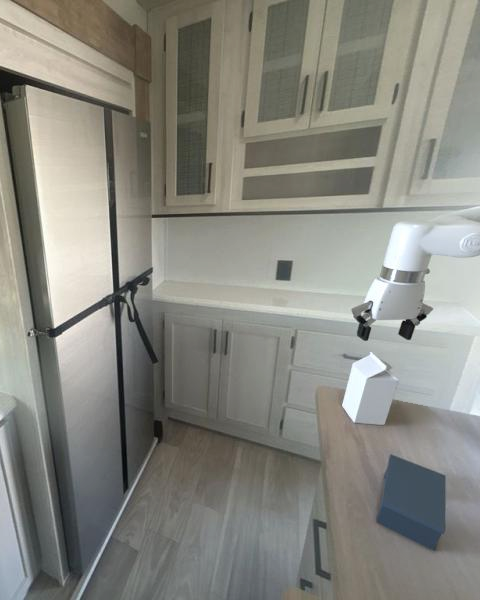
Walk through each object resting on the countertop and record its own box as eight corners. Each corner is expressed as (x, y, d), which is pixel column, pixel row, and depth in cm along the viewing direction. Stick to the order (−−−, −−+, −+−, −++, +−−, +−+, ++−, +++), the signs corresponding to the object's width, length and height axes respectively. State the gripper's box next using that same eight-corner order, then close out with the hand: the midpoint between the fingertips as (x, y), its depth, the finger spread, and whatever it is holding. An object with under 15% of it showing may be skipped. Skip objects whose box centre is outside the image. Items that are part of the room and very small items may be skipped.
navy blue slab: (383, 472, 77) (390, 453, 75) (436, 495, 71) (445, 475, 69) (374, 521, 67) (382, 500, 65) (435, 551, 62) (445, 530, 59)
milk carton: (353, 423, 91) (369, 365, 84) (341, 406, 97) (355, 350, 90) (384, 425, 89) (403, 367, 82) (370, 408, 96) (386, 352, 88)
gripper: (429, 267, 80) (408, 330, 86) (351, 271, 82) (337, 331, 89) (458, 277, 73) (434, 344, 79) (372, 281, 75) (355, 346, 82)
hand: (382, 337), depth 84 cm, fingers open, 9 cm apart
